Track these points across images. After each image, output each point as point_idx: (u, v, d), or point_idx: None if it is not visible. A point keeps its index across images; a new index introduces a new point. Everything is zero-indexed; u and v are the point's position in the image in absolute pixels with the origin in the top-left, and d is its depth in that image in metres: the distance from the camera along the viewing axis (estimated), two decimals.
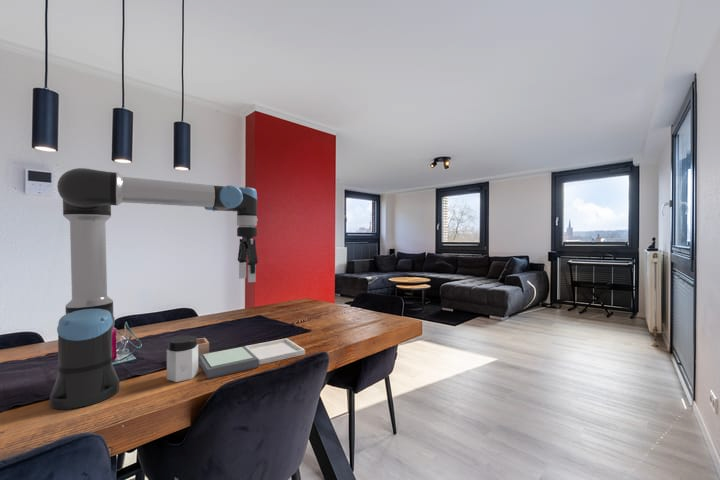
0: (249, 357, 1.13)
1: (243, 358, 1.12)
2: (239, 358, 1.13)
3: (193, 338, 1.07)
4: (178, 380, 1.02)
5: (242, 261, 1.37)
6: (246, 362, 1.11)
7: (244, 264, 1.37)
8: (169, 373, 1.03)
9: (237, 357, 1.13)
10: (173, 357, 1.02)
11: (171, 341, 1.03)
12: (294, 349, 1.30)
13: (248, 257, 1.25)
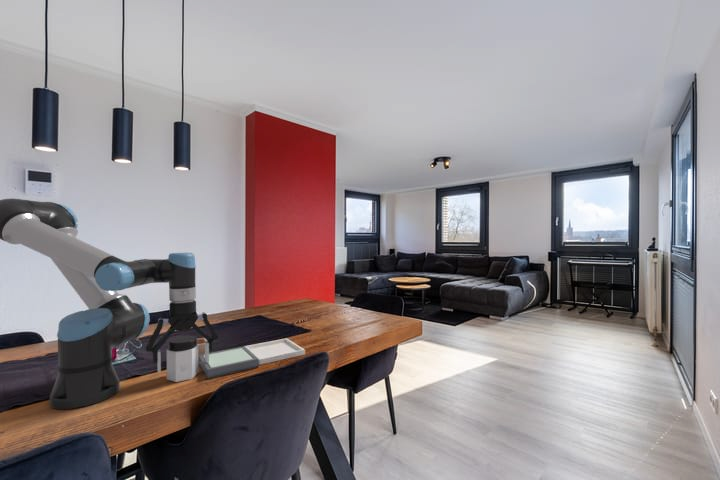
0: (249, 358, 1.13)
1: (243, 359, 1.12)
2: (239, 359, 1.13)
3: (193, 338, 1.07)
4: (178, 380, 1.02)
5: None
6: (246, 362, 1.11)
7: (205, 345, 1.09)
8: (169, 373, 1.03)
9: (237, 359, 1.13)
10: (173, 357, 1.02)
11: (171, 341, 1.03)
12: (294, 349, 1.30)
13: (159, 340, 1.03)
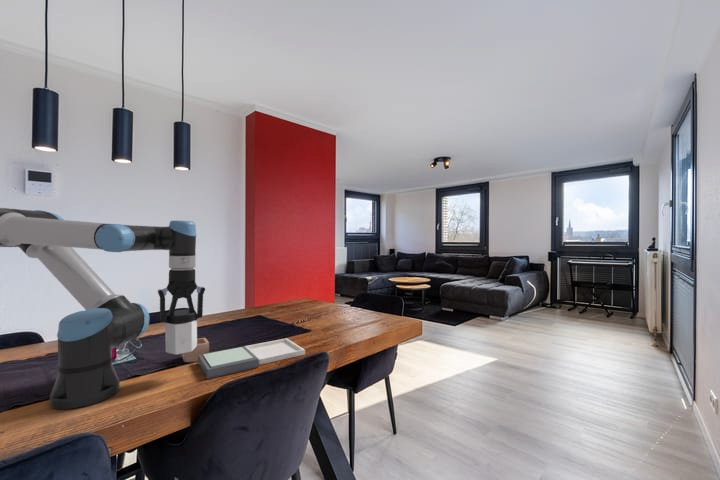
0: (249, 357, 1.13)
1: (243, 358, 1.12)
2: (239, 358, 1.13)
3: None
4: (177, 353, 1.02)
5: None
6: (246, 362, 1.11)
7: None
8: (168, 346, 1.02)
9: (237, 357, 1.13)
10: (172, 330, 1.01)
11: (170, 314, 1.03)
12: (294, 349, 1.30)
13: (169, 311, 1.05)
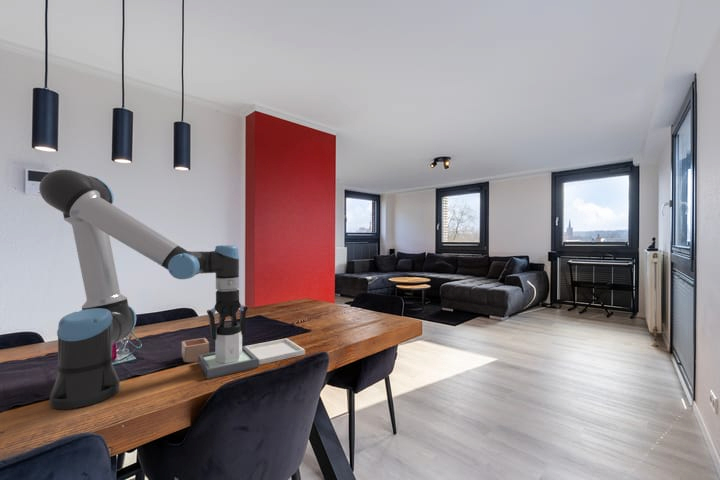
0: None
1: None
2: (239, 361, 1.13)
3: (238, 323, 1.16)
4: (227, 362, 1.11)
5: None
6: (246, 362, 1.11)
7: None
8: (218, 355, 1.12)
9: None
10: (222, 341, 1.11)
11: (219, 326, 1.12)
12: (294, 349, 1.30)
13: None
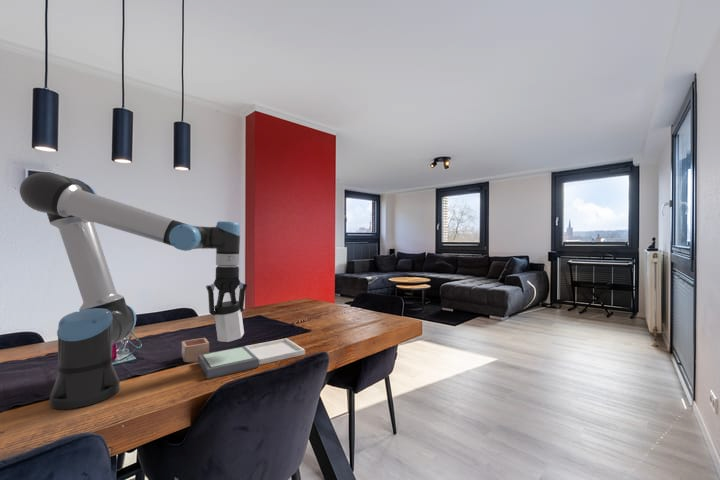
0: (249, 357, 1.13)
1: (243, 358, 1.12)
2: (239, 358, 1.13)
3: (236, 302, 1.15)
4: (229, 340, 1.11)
5: None
6: (246, 362, 1.11)
7: None
8: (220, 335, 1.12)
9: (237, 358, 1.13)
10: (222, 320, 1.11)
11: (217, 306, 1.12)
12: (294, 349, 1.30)
13: None
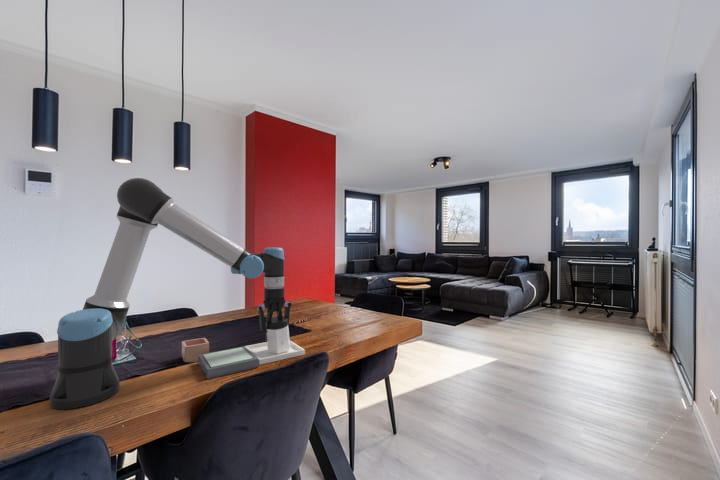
0: (249, 357, 1.13)
1: (243, 358, 1.12)
2: (239, 358, 1.13)
3: (285, 318, 1.28)
4: (279, 352, 1.24)
5: None
6: (246, 362, 1.11)
7: None
8: (270, 347, 1.25)
9: (237, 358, 1.13)
10: (273, 334, 1.24)
11: None
12: (294, 349, 1.30)
13: None
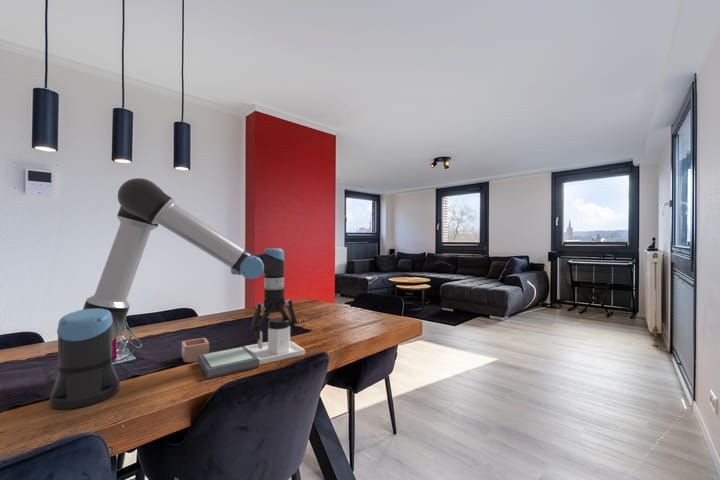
0: (249, 357, 1.13)
1: (243, 358, 1.12)
2: (239, 358, 1.13)
3: (287, 319, 1.29)
4: (278, 353, 1.24)
5: None
6: (246, 362, 1.11)
7: None
8: (270, 347, 1.25)
9: (237, 358, 1.13)
10: (274, 334, 1.24)
11: (271, 321, 1.26)
12: (294, 349, 1.30)
13: (258, 322, 1.25)
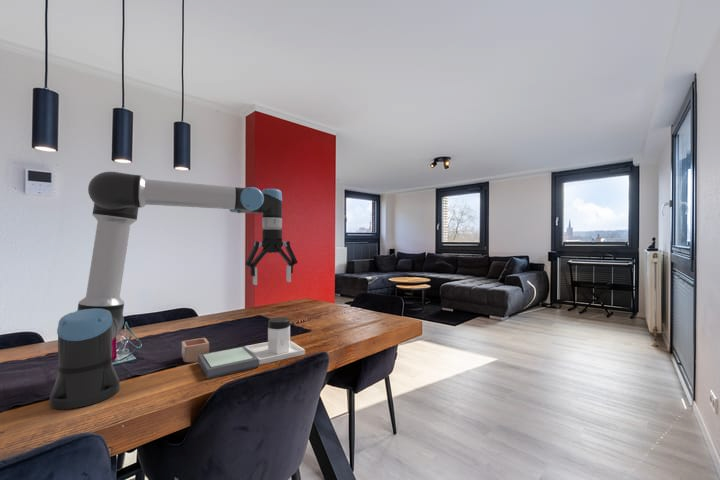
0: (249, 357, 1.13)
1: (243, 358, 1.12)
2: (239, 358, 1.13)
3: (287, 319, 1.29)
4: (278, 353, 1.24)
5: (289, 264, 1.33)
6: (246, 362, 1.11)
7: (288, 267, 1.32)
8: (270, 347, 1.25)
9: (237, 358, 1.13)
10: (274, 334, 1.24)
11: (271, 321, 1.26)
12: (294, 349, 1.30)
13: None
